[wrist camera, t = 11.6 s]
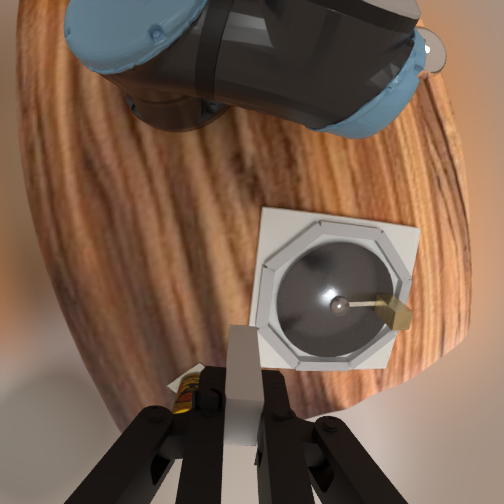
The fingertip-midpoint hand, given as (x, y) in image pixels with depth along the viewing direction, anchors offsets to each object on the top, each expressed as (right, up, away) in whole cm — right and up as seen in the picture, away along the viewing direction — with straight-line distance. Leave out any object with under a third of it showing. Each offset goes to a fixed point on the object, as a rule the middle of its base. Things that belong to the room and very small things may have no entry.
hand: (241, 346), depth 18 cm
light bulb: (+20, +31, +19) cm, 41 cm away
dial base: (+12, -1, +26) cm, 28 cm away
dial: (+12, -1, +23) cm, 26 cm away
